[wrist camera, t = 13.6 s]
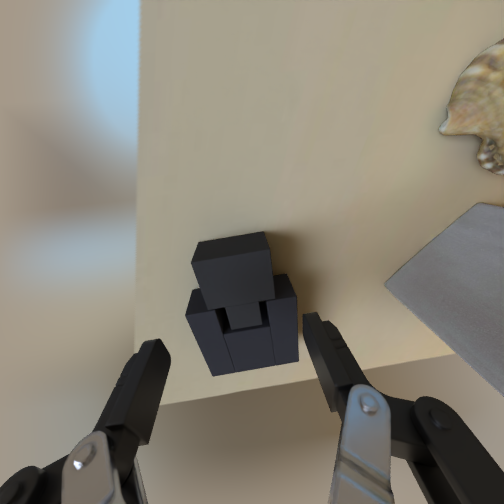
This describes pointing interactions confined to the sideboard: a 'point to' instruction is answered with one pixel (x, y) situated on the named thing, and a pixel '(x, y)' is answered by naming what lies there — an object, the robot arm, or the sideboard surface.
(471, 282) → the planter
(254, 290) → the black block
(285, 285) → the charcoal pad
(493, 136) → the seashell
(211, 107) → the sideboard surface
